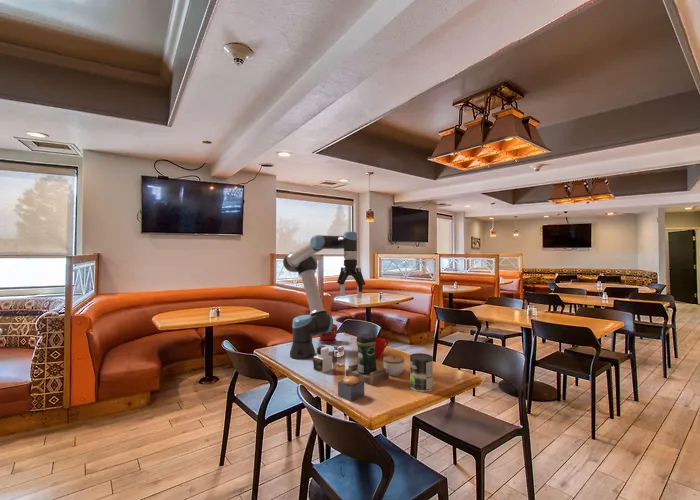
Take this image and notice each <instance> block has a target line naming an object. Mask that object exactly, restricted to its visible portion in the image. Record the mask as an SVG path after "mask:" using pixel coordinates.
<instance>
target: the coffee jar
mask: <svg viewBox="0 0 700 500" xmlns="http://www.w3.org/2000/svg"><path fill="white" fill-rule="evenodd" d="M375 344H376V334H375V333H372V332H366V333H362V334H357V336H356V346H357V360H356V361H357V362H356V363H357V371H358V372H359V373H361V374H369V373H371V372H374V371H376V370H377V369H378V367H377V365H378V364H377V359H376V355H375Z"/></svg>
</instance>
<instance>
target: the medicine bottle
mask: <svg viewBox="0 0 700 500" xmlns="http://www.w3.org/2000/svg"><path fill="white" fill-rule="evenodd" d="M312 358H313V360H312V362H313V371H316V372H319V373H322V374H323V373H326V372H329V371H331V370H333V356H332V355H329V347H328V346H325V345H321V346H318V347H317V348H316V355H315V356H314V357H312Z"/></svg>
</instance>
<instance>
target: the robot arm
mask: <svg viewBox="0 0 700 500" xmlns="http://www.w3.org/2000/svg"><path fill="white" fill-rule="evenodd" d="M326 249H327V250H342V249H343V259H344V260H343V266H344V267H343V266H341V267H340V273H339V276H338V278H337V281H336V282H337V284H338V285H339V290H340V291H339V293H340V297H344V296H346V284H345V282H346V281H347V279H348V277H349V276H350V277H353V279H354V280H355V283H356V284H357V286H356V297H357V299H362V292H363V286H365V285H366V283H365V282H366V281H365V279H364V276H363V273H362V268H361V267H357V266H358V260H357V259H358V235H357V232H355V231H344V232H343V235H323V234H322V235H321V234H317V235H313V236H311V238H310V241H309V242H307V243H306V244H304V245H302V247H300V248H298V249H297V250H295V251H294V252H293V251H291V252H289V253H287V254H286V255H285V256H284V258H283V260H282V263H283V268H284V269H285V270H286V271H287V272H290V273H291V272H292V273H298V277H300V278H301V281H302V284H303V288H304V292H305V295H306V299H307V304H308V307H309V311H310V313H309V314H303V315H302V314H301V315H297V316H296V317H294V318H293V319H292V344H291V348H290V350H289V357H290V359H294V360H305V359H311V358H313V357H314V356H316V350H315V347H314V344H313V337H314V336H319V335H320V334H326V333H329V332H330V331H331V330H332V327H333V324H334V319H333V315H331V314H329V313H328V311H327V309H326V308H325V309H324V305H323V302H322V301H323V300H322V298H321V297H322V296H321V294H320V291H319V287H318V283H317V279H316V275H315V274H316V272H317V269H318V260H317V258H316V257H315V254H318V252H321V251H323V250H326ZM331 332H332V331H331Z"/></svg>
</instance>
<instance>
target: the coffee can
mask: <svg viewBox="0 0 700 500" xmlns="http://www.w3.org/2000/svg"><path fill="white" fill-rule="evenodd" d="M433 360H434V358H433V356H432V355H431V354H429V353H421V352H417V353H415V352H414V353H411V354H410V355H409V383H410V384H409V387H410V389H411V390H412V391H416V392H419V393H427V392H431V391H433V389H434V387H433V386H434V381H433V379H434V378H433V374H434V373H433V370H434V369H433V368H434V367H433V365H434V363H433Z"/></svg>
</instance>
